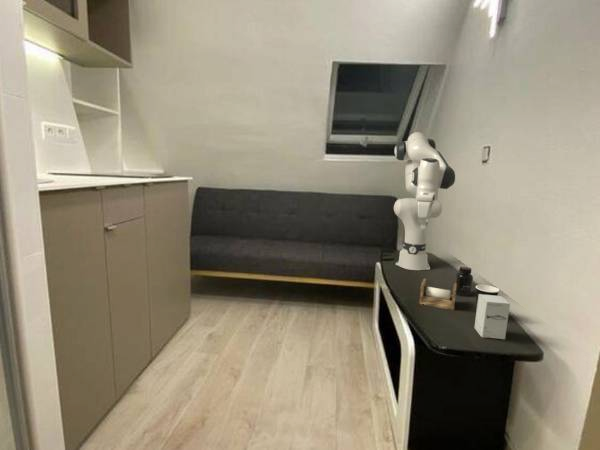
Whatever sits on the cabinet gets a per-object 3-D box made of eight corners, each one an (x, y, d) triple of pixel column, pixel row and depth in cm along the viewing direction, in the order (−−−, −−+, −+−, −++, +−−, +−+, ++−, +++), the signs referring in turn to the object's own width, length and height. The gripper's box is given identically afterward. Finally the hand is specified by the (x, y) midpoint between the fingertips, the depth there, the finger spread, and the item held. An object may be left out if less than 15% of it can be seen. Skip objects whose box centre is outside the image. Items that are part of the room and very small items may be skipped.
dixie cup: (471, 316, 129) (474, 288, 127) (473, 309, 136) (476, 283, 134) (495, 322, 125) (499, 293, 123) (496, 314, 132) (499, 287, 130)
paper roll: (425, 300, 142) (426, 288, 141) (426, 296, 146) (427, 285, 146) (449, 304, 138) (450, 292, 137) (449, 300, 142) (451, 289, 142)
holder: (419, 303, 140) (420, 284, 139) (422, 296, 149) (423, 278, 148) (453, 310, 135) (456, 290, 134) (454, 301, 144) (456, 283, 143)
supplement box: (481, 338, 113) (486, 301, 111) (473, 327, 120) (478, 293, 118) (505, 340, 112) (510, 303, 110) (496, 330, 119) (501, 295, 117)
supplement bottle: (465, 297, 149) (468, 271, 147) (450, 292, 155) (453, 267, 153) (474, 294, 153) (477, 268, 151) (459, 290, 158) (462, 265, 157)
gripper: (422, 194, 161) (419, 223, 163) (416, 196, 143) (413, 229, 145) (436, 195, 159) (433, 224, 161) (432, 197, 140) (429, 230, 143)
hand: (424, 227), depth 153 cm, fingers open, 8 cm apart
